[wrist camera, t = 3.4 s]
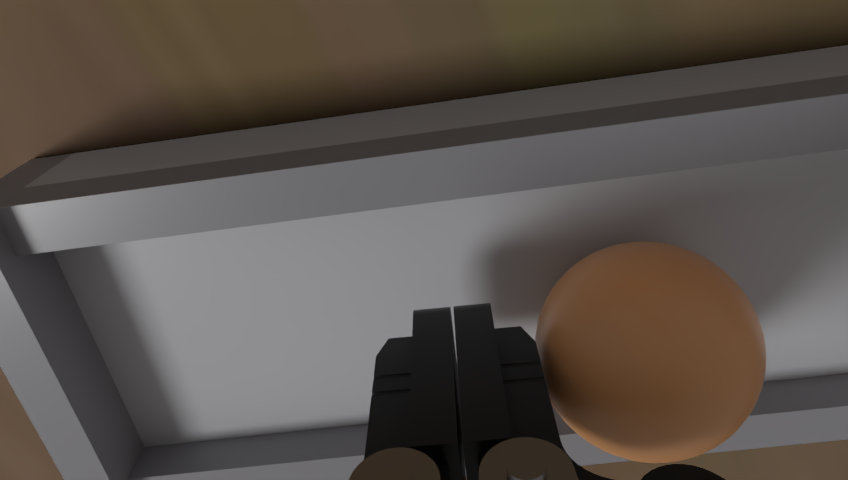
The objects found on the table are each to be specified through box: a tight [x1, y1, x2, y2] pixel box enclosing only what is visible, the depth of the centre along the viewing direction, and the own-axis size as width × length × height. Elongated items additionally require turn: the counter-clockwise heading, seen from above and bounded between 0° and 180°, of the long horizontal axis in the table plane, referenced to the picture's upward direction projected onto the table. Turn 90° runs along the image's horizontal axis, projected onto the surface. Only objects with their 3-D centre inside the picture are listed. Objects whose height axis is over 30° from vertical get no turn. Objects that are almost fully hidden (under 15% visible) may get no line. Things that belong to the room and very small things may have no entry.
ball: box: [535, 241, 766, 463], centre depth 12 cm, size 4×4×4 cm
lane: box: [0, 45, 848, 480], centre depth 13 cm, size 8×34×4 cm, turn 98°
